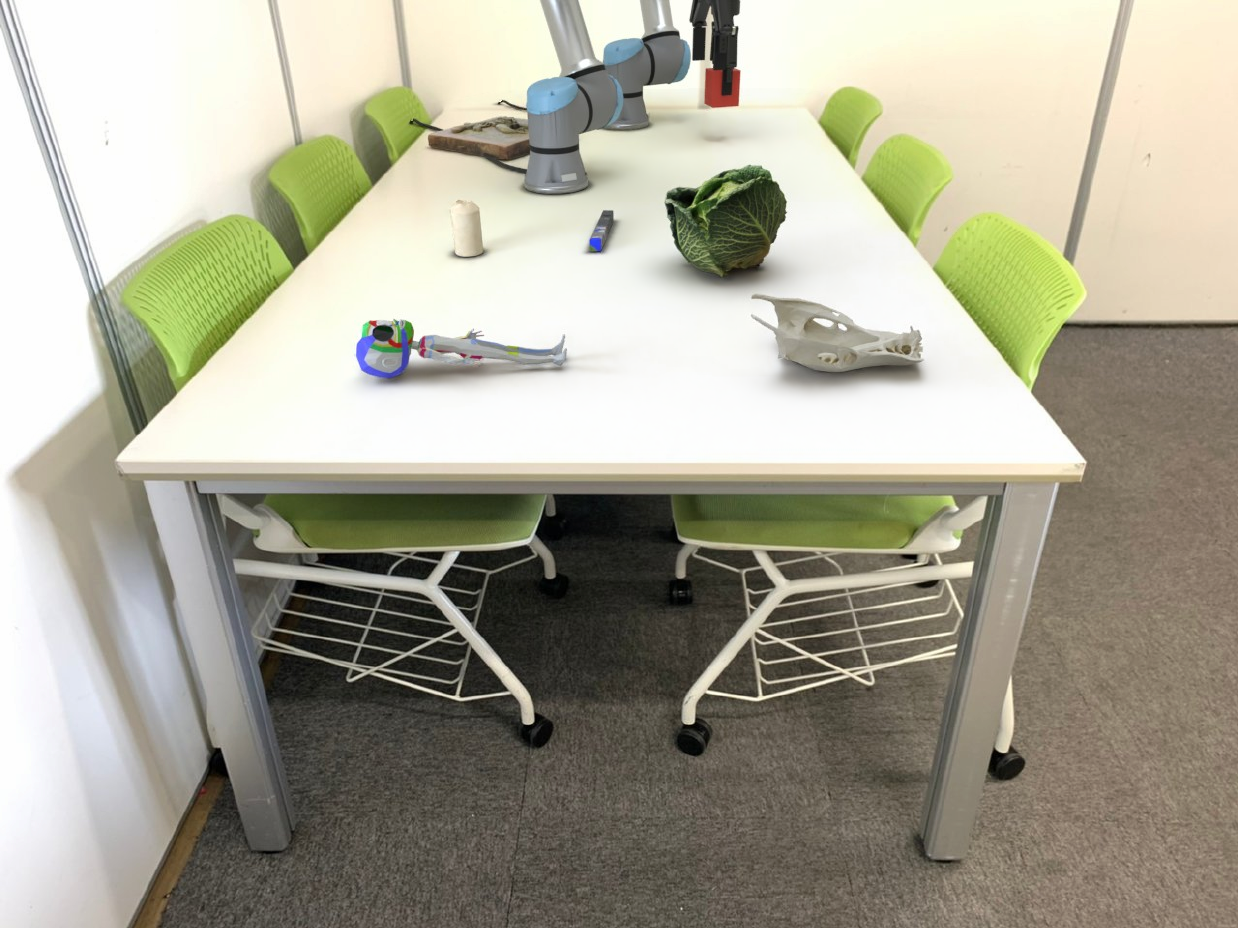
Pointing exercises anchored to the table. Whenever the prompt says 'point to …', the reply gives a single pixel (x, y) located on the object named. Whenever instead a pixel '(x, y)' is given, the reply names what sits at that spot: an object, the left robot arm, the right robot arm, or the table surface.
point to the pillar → (601, 230)
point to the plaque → (486, 138)
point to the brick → (720, 89)
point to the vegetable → (727, 219)
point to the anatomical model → (835, 339)
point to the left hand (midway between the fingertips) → (708, 65)
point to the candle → (466, 228)
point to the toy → (435, 349)
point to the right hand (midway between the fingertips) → (721, 92)
